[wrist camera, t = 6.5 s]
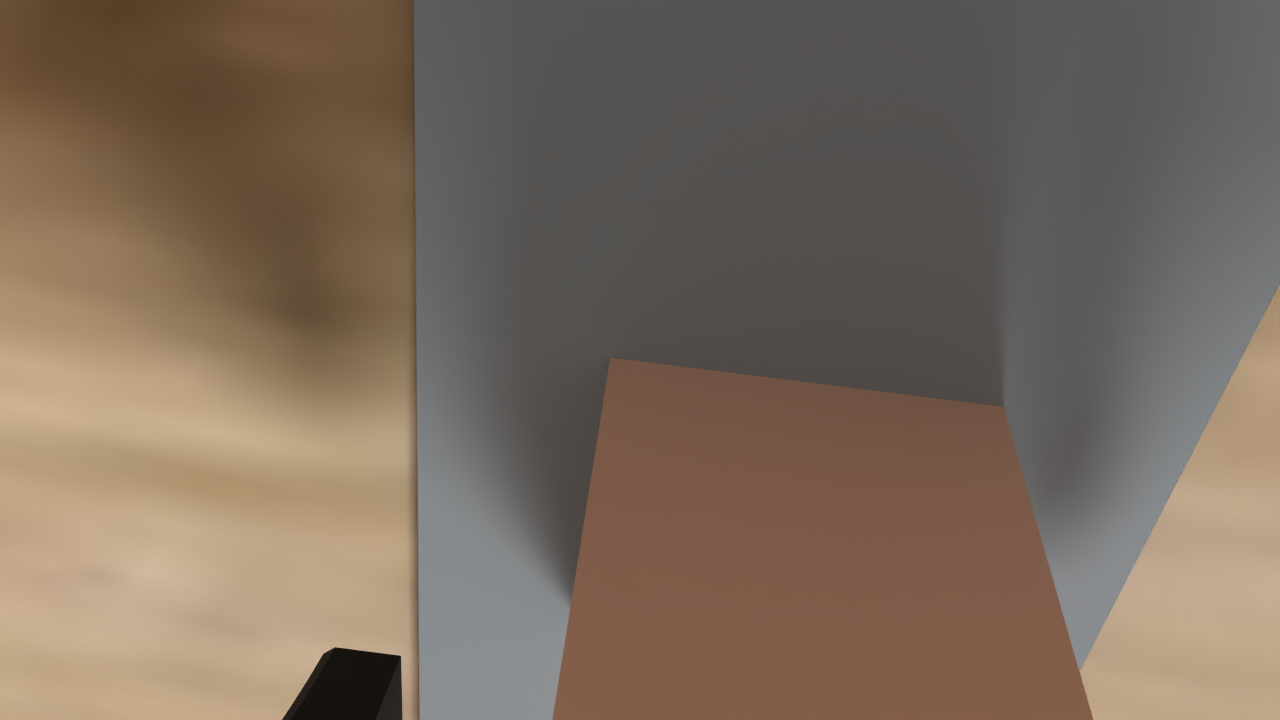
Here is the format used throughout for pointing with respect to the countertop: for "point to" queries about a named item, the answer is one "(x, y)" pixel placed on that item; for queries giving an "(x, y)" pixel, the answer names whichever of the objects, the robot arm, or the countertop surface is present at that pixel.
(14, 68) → the countertop surface
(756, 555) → the terracotta block
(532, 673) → the slate mat
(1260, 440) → the countertop surface
